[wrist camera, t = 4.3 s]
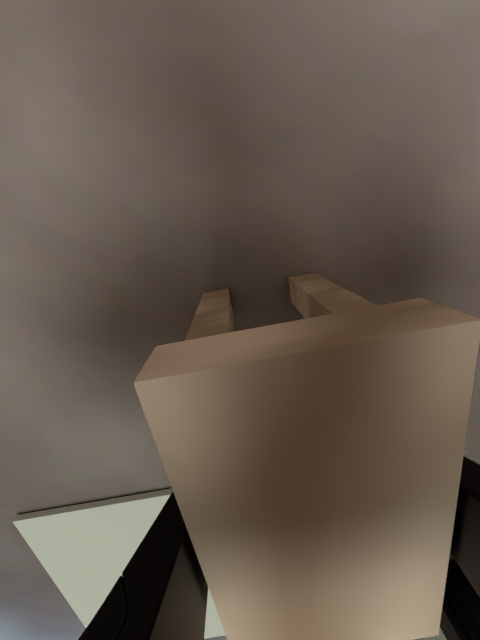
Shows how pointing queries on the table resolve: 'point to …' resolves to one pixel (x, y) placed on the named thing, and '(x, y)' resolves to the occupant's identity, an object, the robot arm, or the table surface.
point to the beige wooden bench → (318, 459)
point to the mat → (96, 548)
